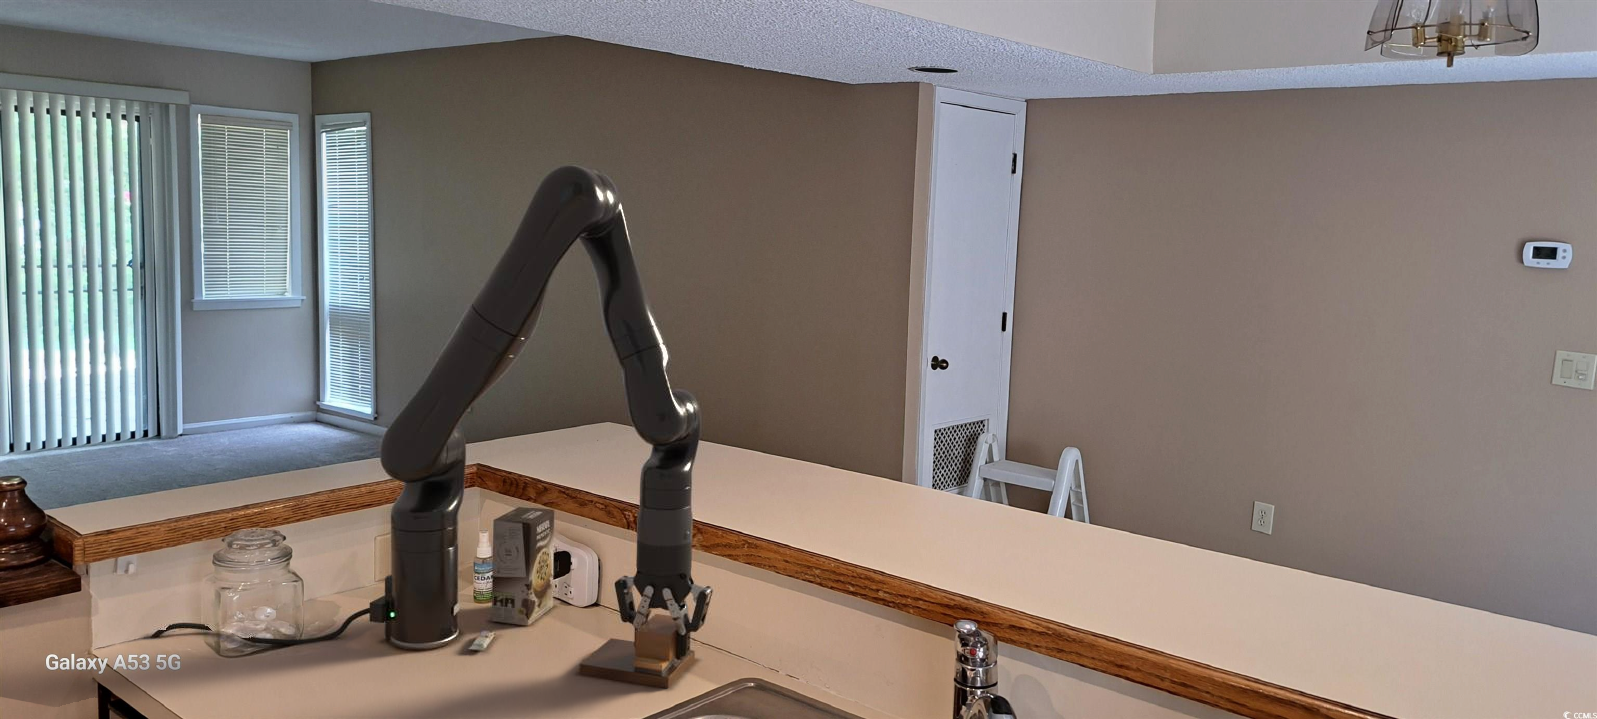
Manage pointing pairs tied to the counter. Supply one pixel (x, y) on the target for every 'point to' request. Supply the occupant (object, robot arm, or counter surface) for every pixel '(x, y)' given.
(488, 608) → the counter surface
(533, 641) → the counter surface
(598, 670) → the board
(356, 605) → the counter surface
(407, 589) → the robot arm
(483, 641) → the granola bar
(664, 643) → the stepped wooden block
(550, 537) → the coffee box
